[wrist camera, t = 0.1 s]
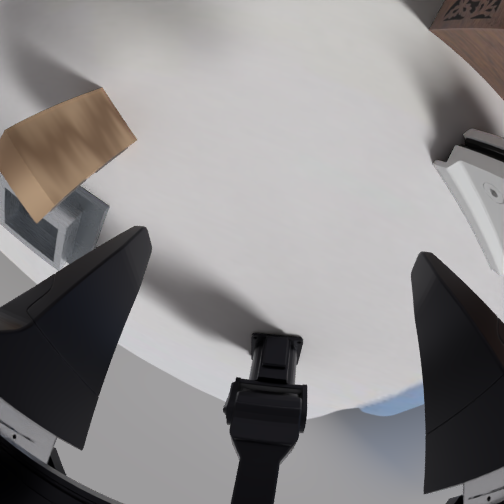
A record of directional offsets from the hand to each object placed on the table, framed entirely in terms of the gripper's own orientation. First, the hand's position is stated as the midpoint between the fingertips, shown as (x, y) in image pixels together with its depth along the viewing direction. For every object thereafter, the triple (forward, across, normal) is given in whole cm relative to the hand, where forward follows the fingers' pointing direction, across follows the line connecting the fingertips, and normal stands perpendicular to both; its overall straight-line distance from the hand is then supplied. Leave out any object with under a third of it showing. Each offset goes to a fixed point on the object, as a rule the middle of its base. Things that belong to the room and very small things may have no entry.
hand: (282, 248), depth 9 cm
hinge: (+15, -20, +4) cm, 25 cm away
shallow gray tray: (+14, +28, +8) cm, 32 cm away
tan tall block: (+15, +16, -1) cm, 22 cm away
